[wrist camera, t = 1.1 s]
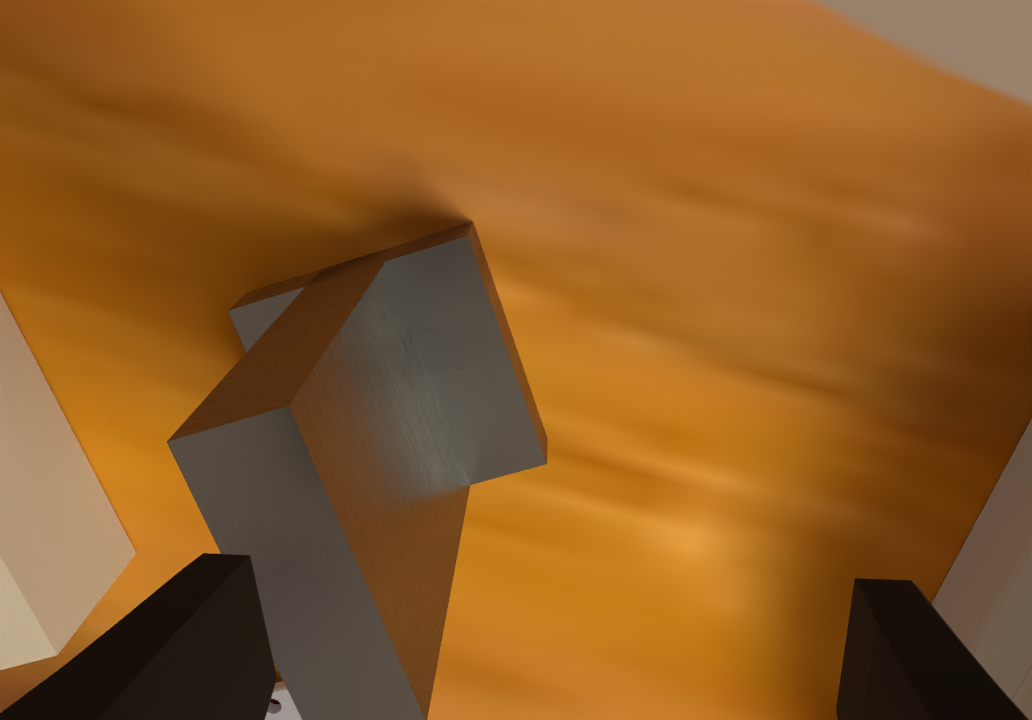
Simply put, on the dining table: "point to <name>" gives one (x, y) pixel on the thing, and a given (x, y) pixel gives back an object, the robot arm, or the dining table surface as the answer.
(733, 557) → the dining table surface
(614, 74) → the dining table surface
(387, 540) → the tall grey block
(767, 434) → the dining table surface
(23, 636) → the well block
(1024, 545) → the grey rounded block
